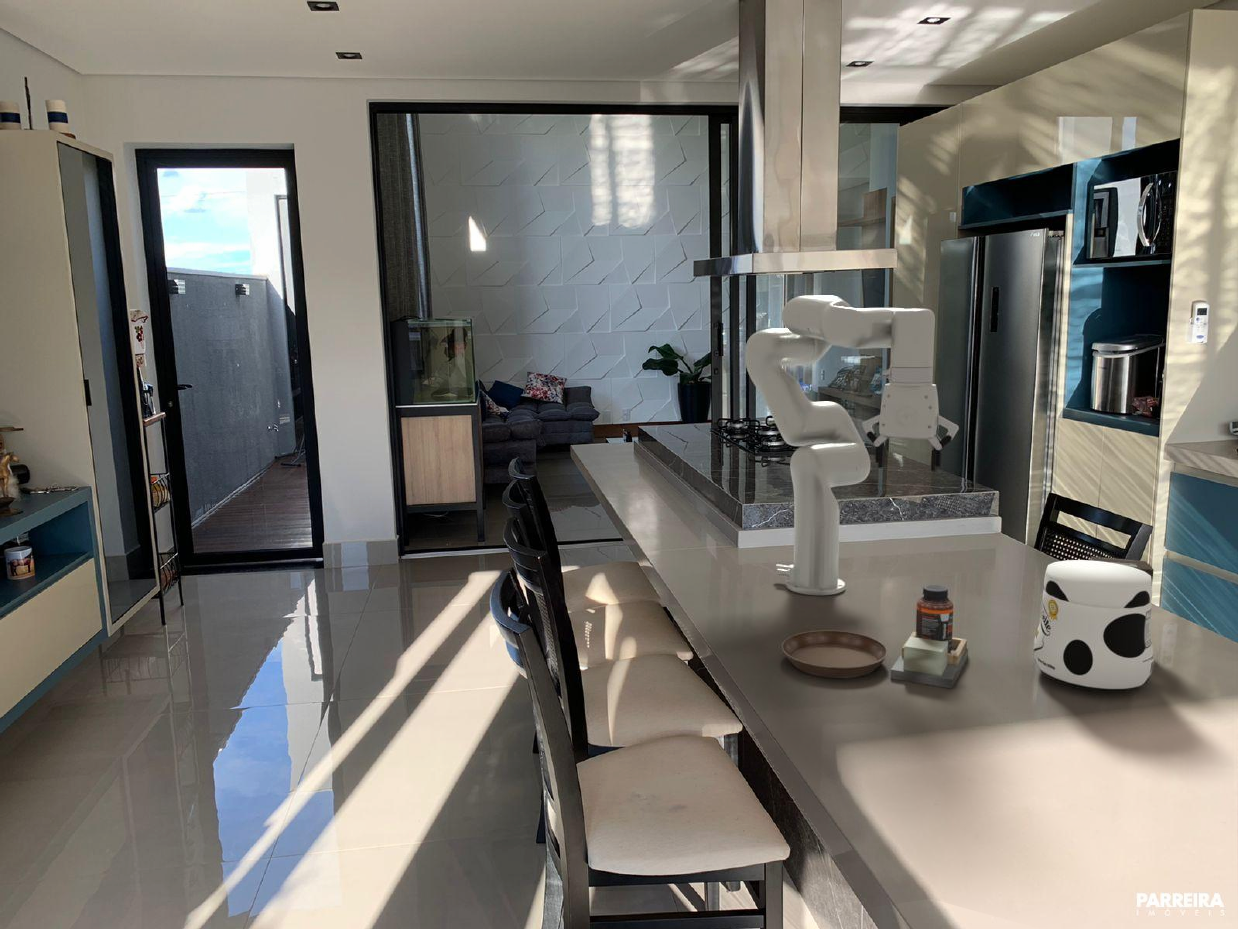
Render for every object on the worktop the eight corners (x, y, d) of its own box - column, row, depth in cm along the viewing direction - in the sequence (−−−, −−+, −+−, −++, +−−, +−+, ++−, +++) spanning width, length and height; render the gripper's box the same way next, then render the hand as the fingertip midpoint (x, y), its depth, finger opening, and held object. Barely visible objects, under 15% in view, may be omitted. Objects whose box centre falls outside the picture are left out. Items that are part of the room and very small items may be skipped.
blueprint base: (890, 678, 154) (891, 646, 154) (911, 647, 168) (912, 617, 167) (951, 688, 150) (953, 655, 149) (967, 656, 164) (969, 625, 163)
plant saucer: (805, 688, 152) (805, 670, 151) (766, 650, 169) (767, 634, 168) (906, 678, 155) (907, 661, 154) (858, 642, 172) (859, 626, 172)
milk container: (1012, 662, 161) (1018, 560, 158) (1109, 658, 162) (1117, 556, 159) (1068, 704, 144) (1076, 590, 141) (1176, 698, 145) (1186, 585, 142)
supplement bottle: (954, 658, 159) (957, 593, 157) (918, 656, 160) (919, 592, 158) (948, 645, 164) (950, 583, 163) (913, 644, 165) (914, 582, 164)
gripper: (858, 377, 174) (856, 468, 177) (956, 379, 166) (952, 475, 168) (869, 374, 180) (866, 462, 183) (963, 376, 172) (959, 468, 175)
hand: (907, 468), depth 176 cm, fingers open, 9 cm apart
